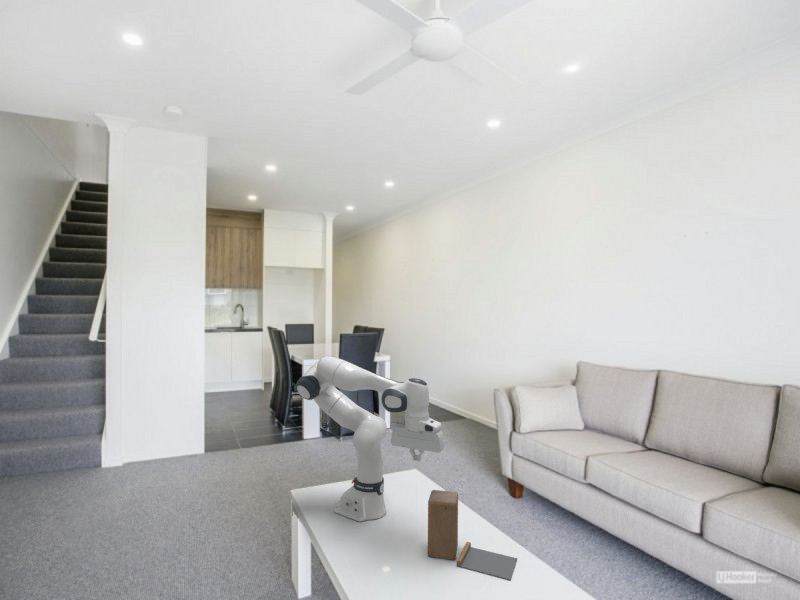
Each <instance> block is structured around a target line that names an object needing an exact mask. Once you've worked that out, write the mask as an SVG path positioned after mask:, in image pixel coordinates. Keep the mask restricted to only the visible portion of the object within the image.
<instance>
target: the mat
mask: <svg viewBox="0 0 800 600" xmlns="http://www.w3.org/2000/svg"><path fill="white" fill-rule="evenodd" d="M455 560H456V564H455V566H456V567H457V568H460V569H465V570H469V571H471V572H476V573H480V574H484V575H487V576H491V577H496V578H499V579H503V580H506V581H511V580H512V578H513V577H512V576H513V574H514V571H515V567H516V564H517V560H518V558H517V557H514V556H513V557H512V556H510V555H506V554H501V553H498V552H493V551H489V550H485V549H481V548H477V547H472V543H471V542H470V541H466V542H465V544H464V546H463V548H462V549H461V551H460V553H459V555H458V557H457V558H456V559H455Z"/></svg>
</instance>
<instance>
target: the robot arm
mask: <svg viewBox="0 0 800 600" xmlns="http://www.w3.org/2000/svg"><path fill="white" fill-rule="evenodd" d="M295 387H296V388H295V389H296V392H297V393H298V395H299V396H300V397H301V398H302V399H304V400H308V401H314V402H315V404H316V405H317V406H318V407H319V408H320V410H321V411H323V412H324V413H325V414H326V415H328V416H329V417H330V418H331V419H332V420H334V422H336V423H337V424H338V425H339V426H341V427H343V428H346V429H348V430H351V431H353V432H354V433H353V436H352V443H353V446H354V448H355V449H354V450H355V454H356V461H357V462H356V463H357V467H356V469H357V471H356V476H355V477H354V478H353V479H352V480H351V484H353V485H352V486H351V487H349V488H348V489H347V490H345V491H344V492H343V493H341V494H342V495H341V496H340V500H339V502H338V503H337V504H336V505H334V508H333V511H334V513H336V514H339V515H341V516H344V517H346V518H349V519H351V520H354V521H356V522H365V521H367V520H368V521H370V520H377V519H380V518H382V517H384V516H385V515H386V514H387V508H386V504H385V499H384V498H385V497H384V491H385V490H384V489H385V478H384V458H383V456H382V451H381V444H382V443H381V442H382V440H383V439H384V438H385V436H386V434H387V422H386V421H385V419H384V418H383V417H381V416H378V415H375V414H373V413H372V412H369V411H368V410H366V409H364V408H363V407H361V406H359V405H358V404H357V403H355V402H354V401H353V400H352V399H350V398H349V397H348V396H347V395H345V394H344V393H343V392H342V391H340V390H344V391H348V392H354V391H355V392H356V391H361V390H373V391H376V392H378V393H382V395H381V397H380V398H381V400H380V401H381V405H382V407H383V408H384V409H385V410H386V411H387V412H388V413H394V414H395V413H402V412H403V413H405V415H404V416H405V417H404V419H405V420H398V419H396V420H394V421H393V422H392V423H391V438H390V443H391V445H392V446H395V447H401V448H406V449H409V453H410V454H411V457H412V458H411V459H412V461H416V462H421V461H422V456H423V454H424V452H425V451H427V452H433V453H441V452H442V451H443V450H444V448H445V441H444V439H445V438H444V434H443V431H442V430H441V429H442V423H441V422H440V421H437V420H435V419H433V418H431V417H430V413H429V405H430V393H429V392H430V390H429V385H428V383H427V382H426V381H425V380H424V379H421V378H415V377H412V378H408V379H407V380H406V381H396V380H394V379H391V378H389V377H385V376H383V375H381V374H377V373H374V372H372V371H370V370H367V369H364V368H363V367H359V366H358V365H356V364H353V363H352V362H349V361H347V360H344V359H342V358H338V357H335V356H332V355H331V356H330V355H325V356H323V357H322V358H320V359H319V360H318V361H317V362H315V363H314V364H313V365H311V366H310V367H309V368H308V370H306V372H305V373H304V374H303V375H302V376H301V377H299V379H298V380H297V381H296V384H295ZM339 389H340V390H339ZM415 450H418V453H419V454H416V452H415Z"/></svg>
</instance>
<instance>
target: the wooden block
mask: <svg viewBox="0 0 800 600" xmlns="http://www.w3.org/2000/svg"><path fill="white" fill-rule="evenodd" d="M458 539H459V494H458V492H457V491H451V490H450V491H448V490H440V489H432V490H431V491H430V494H429V498H428V501H427V555H428V557H429V558H436V559H437V558H438V559H444V560H445V559H446V560H456V559H457V552H458V546H459V545H458V543H459V542H458V541H459V540H458Z"/></svg>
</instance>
